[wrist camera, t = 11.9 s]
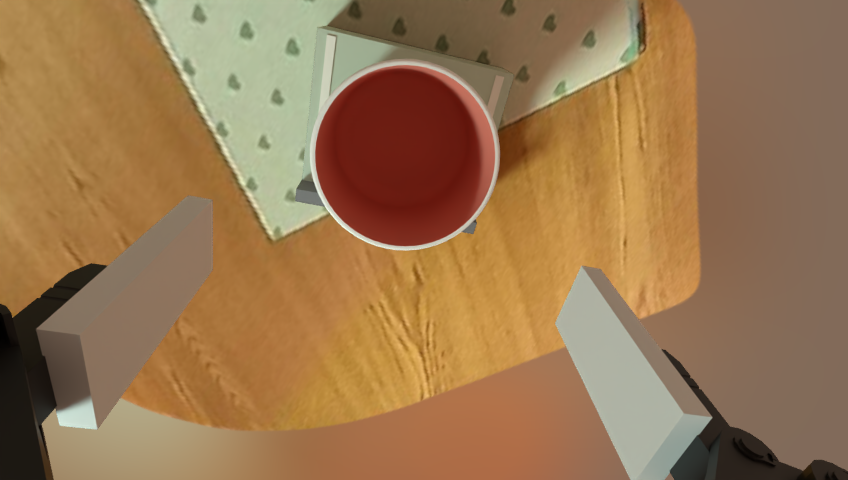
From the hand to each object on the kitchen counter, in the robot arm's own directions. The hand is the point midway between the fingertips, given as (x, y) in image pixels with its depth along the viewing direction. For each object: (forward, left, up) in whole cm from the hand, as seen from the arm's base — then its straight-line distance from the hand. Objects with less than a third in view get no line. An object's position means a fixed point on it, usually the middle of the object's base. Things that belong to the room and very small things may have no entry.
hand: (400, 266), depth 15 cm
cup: (0, 0, -19) cm, 19 cm away
